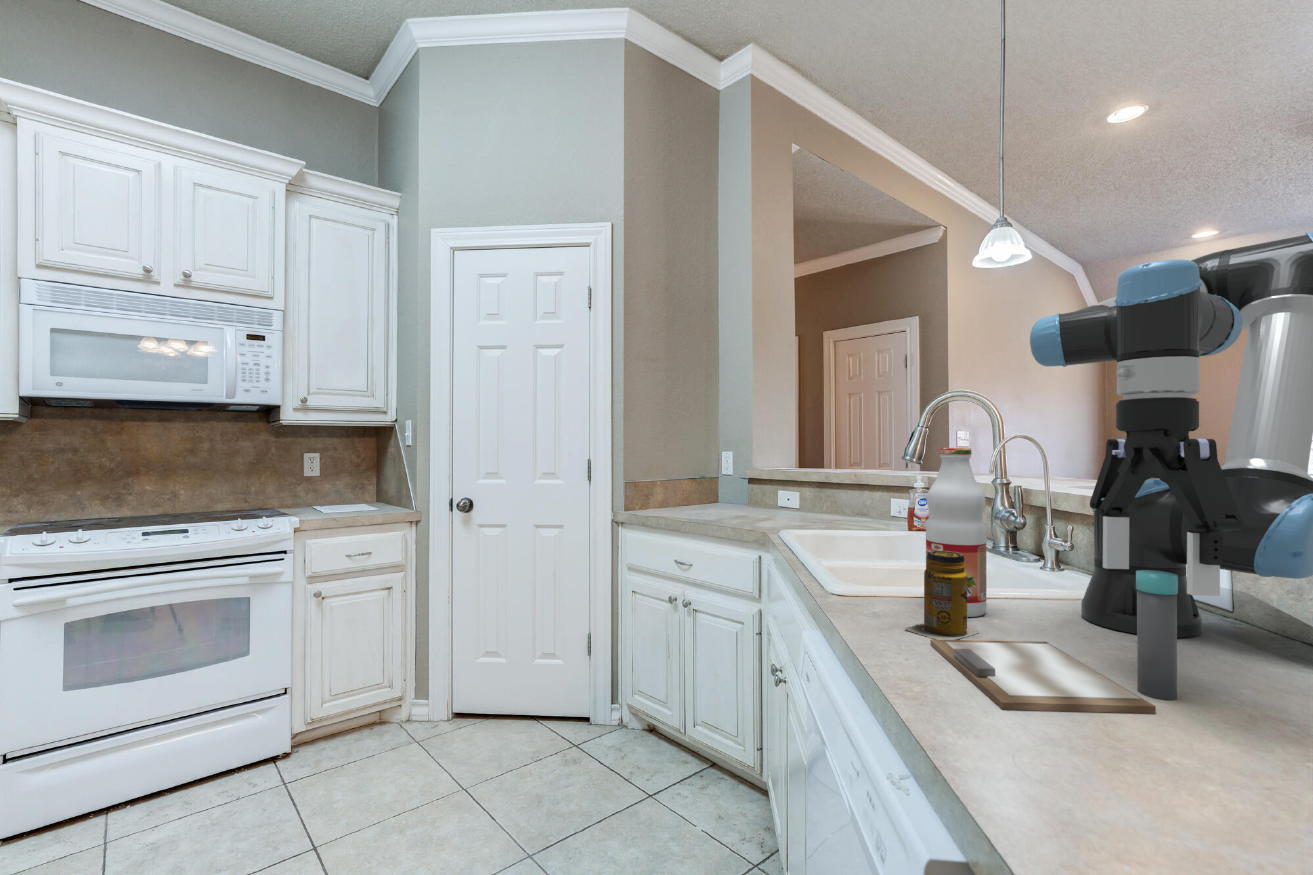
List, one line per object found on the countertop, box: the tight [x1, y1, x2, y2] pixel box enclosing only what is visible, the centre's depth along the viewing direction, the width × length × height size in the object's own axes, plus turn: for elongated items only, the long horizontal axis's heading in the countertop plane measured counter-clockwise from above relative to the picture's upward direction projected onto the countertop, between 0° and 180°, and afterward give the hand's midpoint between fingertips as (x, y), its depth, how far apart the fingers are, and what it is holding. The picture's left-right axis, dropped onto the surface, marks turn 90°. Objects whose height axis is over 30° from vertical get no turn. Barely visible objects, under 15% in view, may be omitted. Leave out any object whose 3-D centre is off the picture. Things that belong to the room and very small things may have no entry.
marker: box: [1136, 570, 1178, 701], centre depth 72 cm, size 4×4×14 cm
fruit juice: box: [925, 447, 987, 618], centre depth 106 cm, size 9×9×28 cm
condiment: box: [903, 551, 980, 640], centre depth 95 cm, size 7×8×12 cm
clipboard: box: [930, 639, 1157, 715], centre depth 78 cm, size 16×21×2 cm
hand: (1155, 580), depth 72 cm, fingers open, 13 cm apart
